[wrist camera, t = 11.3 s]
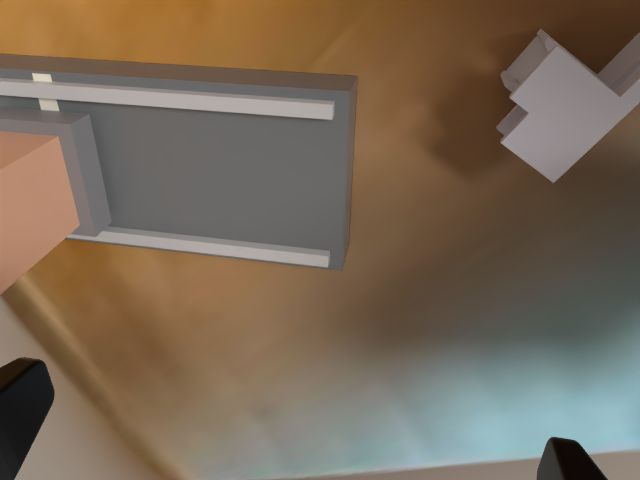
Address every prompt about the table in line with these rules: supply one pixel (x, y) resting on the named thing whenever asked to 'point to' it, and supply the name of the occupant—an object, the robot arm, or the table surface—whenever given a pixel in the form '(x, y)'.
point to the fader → (46, 186)
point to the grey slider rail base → (209, 153)
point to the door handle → (565, 103)
